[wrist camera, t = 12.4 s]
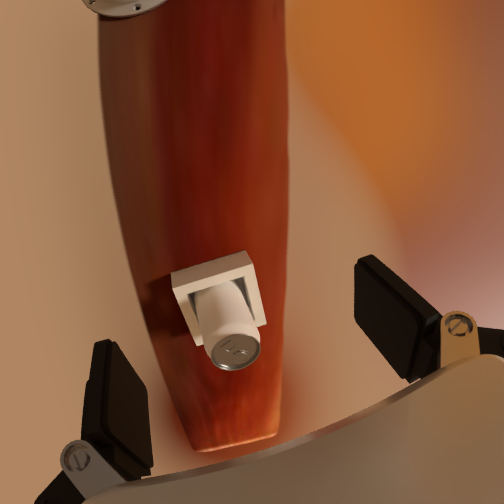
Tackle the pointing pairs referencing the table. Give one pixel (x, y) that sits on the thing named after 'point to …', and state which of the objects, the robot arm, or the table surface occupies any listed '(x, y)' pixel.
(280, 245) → the table surface
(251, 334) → the can
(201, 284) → the dock socket
